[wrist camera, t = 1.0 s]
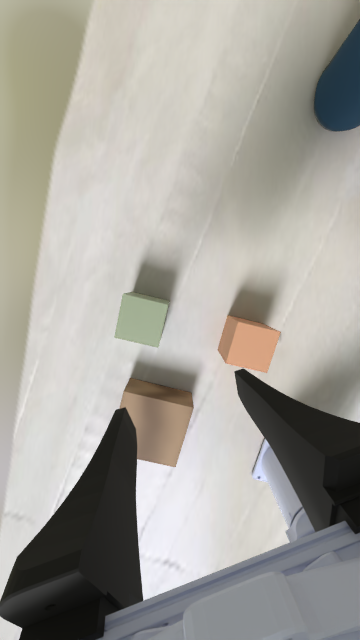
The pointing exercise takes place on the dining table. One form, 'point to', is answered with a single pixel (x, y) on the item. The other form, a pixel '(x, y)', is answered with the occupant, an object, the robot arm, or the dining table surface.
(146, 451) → the walnut block
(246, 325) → the terracotta cube
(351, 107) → the soda can
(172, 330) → the dining table surface
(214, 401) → the dining table surface
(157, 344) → the green cube
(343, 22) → the dining table surface
